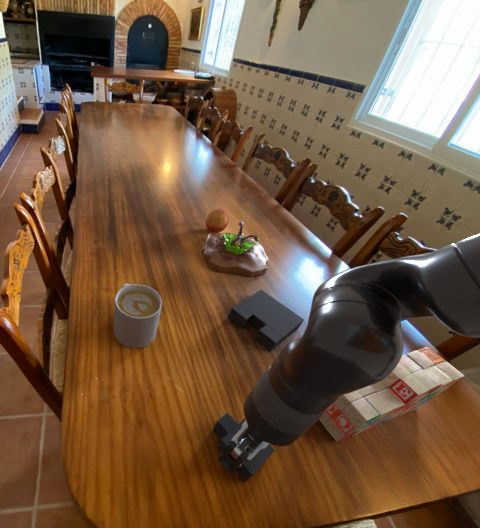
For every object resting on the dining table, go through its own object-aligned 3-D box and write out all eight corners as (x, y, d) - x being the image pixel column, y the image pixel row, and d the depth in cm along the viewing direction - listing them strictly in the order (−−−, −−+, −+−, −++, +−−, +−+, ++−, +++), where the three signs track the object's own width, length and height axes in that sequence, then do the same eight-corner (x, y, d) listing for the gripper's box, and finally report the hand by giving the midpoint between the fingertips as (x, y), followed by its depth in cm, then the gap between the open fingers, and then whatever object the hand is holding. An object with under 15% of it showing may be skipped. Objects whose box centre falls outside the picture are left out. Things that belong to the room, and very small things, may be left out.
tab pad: (227, 415, 55) (233, 406, 53) (267, 457, 50) (275, 450, 47) (205, 435, 52) (210, 426, 50) (245, 482, 47) (252, 475, 45)
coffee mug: (160, 346, 65) (167, 316, 59) (115, 350, 64) (117, 320, 58) (148, 302, 76) (153, 272, 69) (110, 304, 74) (111, 274, 68)
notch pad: (298, 328, 72) (304, 319, 70) (269, 352, 66) (275, 343, 64) (256, 298, 79) (261, 289, 77) (227, 317, 73) (231, 307, 71)
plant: (260, 243, 100) (272, 214, 93) (270, 281, 85) (286, 250, 78) (201, 233, 102) (208, 204, 95) (200, 269, 87) (209, 237, 80)
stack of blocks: (336, 443, 52) (378, 412, 44) (309, 409, 57) (343, 375, 49) (417, 408, 58) (467, 375, 50) (387, 380, 63) (428, 345, 55)
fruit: (230, 234, 103) (237, 214, 98) (212, 239, 100) (218, 218, 95) (216, 223, 109) (221, 203, 104) (198, 227, 106) (203, 207, 101)
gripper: (277, 465, 33) (234, 502, 44) (336, 396, 40) (287, 442, 50) (225, 409, 38) (197, 454, 48) (286, 355, 45) (250, 405, 55)
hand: (243, 448), depth 49 cm, fingers open, 8 cm apart
